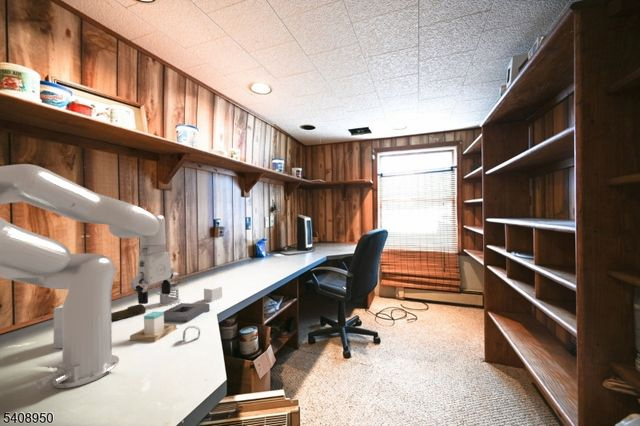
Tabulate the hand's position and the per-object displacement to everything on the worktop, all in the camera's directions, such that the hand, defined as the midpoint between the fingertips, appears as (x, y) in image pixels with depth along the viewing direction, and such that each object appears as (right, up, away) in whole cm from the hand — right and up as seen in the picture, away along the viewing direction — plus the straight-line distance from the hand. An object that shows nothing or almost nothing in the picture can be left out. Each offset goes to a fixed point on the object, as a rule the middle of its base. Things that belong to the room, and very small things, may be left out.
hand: (155, 298), depth 85 cm
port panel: (+1, -13, +16) cm, 21 cm away
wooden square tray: (0, -13, -1) cm, 13 cm away
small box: (-25, -14, -3) cm, 29 cm away
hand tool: (-26, -15, +16) cm, 34 cm away
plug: (0, -12, -1) cm, 12 cm away
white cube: (+4, -14, +38) cm, 41 cm away
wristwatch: (+16, -13, -5) cm, 21 cm away
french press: (-17, -15, +34) cm, 41 cm away
